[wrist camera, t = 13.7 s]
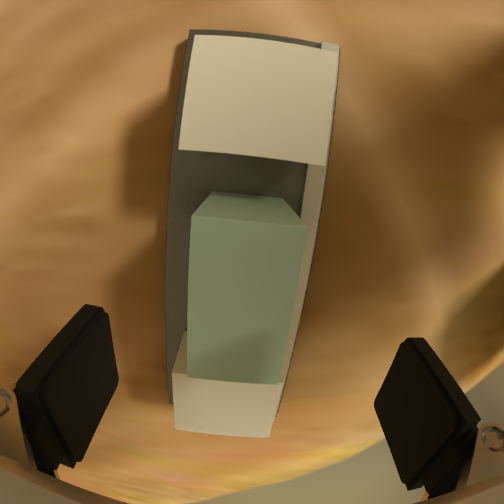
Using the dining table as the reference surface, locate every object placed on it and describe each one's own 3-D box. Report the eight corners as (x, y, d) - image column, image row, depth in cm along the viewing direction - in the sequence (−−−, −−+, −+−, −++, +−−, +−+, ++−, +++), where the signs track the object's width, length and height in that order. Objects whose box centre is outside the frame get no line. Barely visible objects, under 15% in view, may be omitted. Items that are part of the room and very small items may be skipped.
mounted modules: (206, 62, 17) (194, 34, 12) (315, 75, 17) (337, 52, 12) (184, 386, 24) (175, 429, 19) (265, 394, 25) (269, 437, 20)
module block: (212, 191, 19) (191, 215, 12) (282, 198, 19) (307, 227, 12) (204, 303, 22) (187, 377, 14) (267, 309, 22) (277, 384, 14)
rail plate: (192, 35, 17) (188, 26, 15) (335, 53, 17) (342, 45, 16) (171, 394, 26) (168, 406, 24) (276, 404, 26) (278, 417, 25)
